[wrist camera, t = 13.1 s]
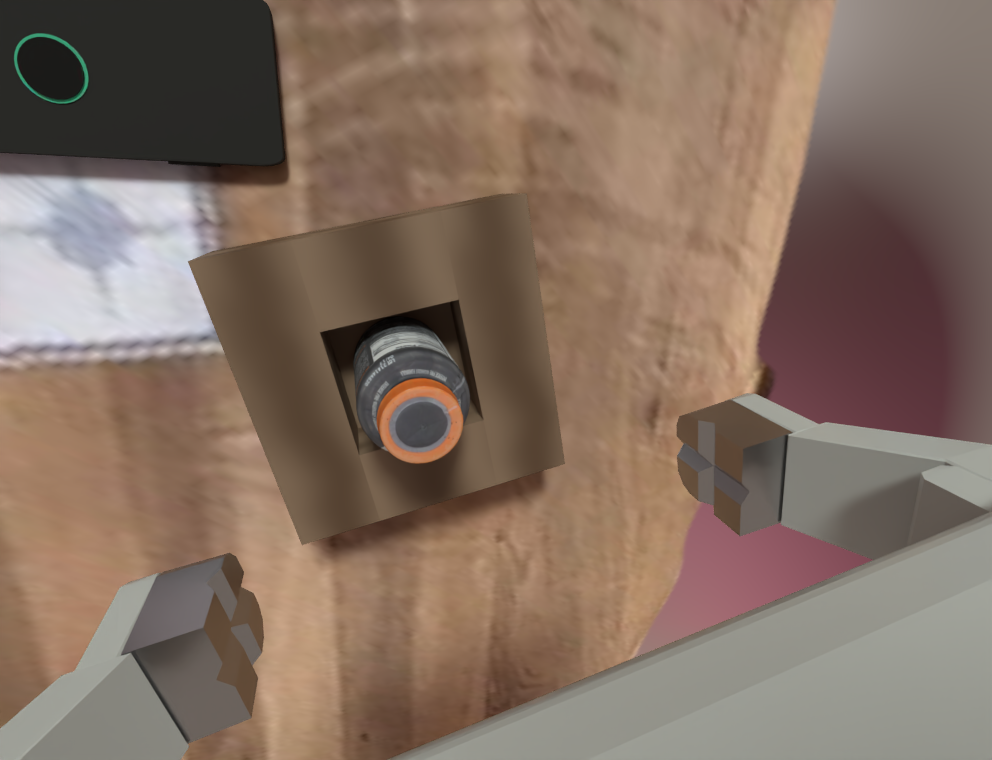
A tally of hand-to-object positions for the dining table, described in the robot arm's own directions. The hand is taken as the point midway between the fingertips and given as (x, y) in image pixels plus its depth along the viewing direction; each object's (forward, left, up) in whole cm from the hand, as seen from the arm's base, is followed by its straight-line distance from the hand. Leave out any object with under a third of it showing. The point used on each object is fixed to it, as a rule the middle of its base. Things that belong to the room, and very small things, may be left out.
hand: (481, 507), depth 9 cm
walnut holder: (0, -5, -26) cm, 27 cm away
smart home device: (-13, +14, -27) cm, 33 cm away
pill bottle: (0, -5, -26) cm, 26 cm away
